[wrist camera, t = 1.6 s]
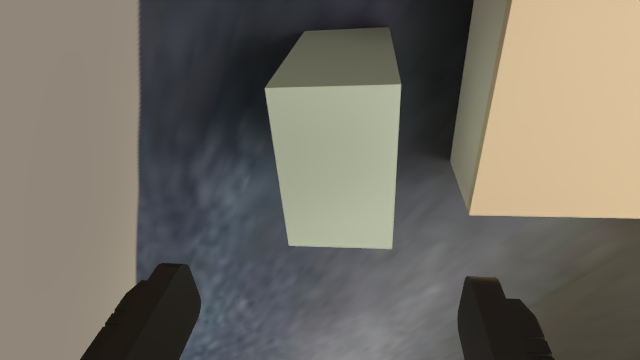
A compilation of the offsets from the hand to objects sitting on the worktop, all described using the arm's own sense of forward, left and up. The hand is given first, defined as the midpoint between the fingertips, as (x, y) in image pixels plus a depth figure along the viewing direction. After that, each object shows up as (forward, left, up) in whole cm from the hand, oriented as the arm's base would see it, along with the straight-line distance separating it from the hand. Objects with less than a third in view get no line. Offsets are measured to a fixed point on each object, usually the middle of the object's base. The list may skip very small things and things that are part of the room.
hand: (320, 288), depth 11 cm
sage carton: (0, 0, -16) cm, 16 cm away
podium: (-1, +13, -16) cm, 20 cm away
